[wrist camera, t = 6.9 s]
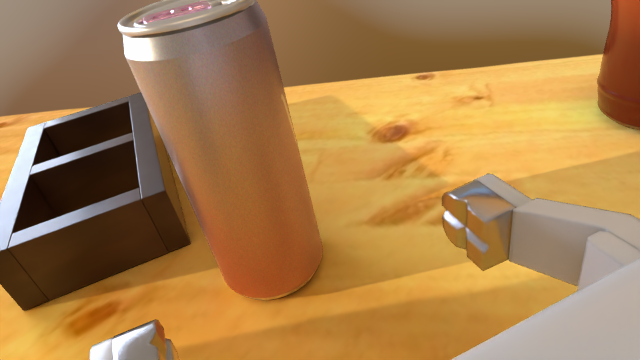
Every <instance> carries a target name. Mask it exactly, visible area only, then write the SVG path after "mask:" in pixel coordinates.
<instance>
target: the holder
mask: <svg viewBox="0 0 640 360" xmlns="http://www.w3.org/2000/svg"><path fill="white" fill-rule="evenodd" d="M190 243H191V242H190V238H189V235H188V231H187V227H186V223H185V219H184V216H183V212H182V208H181V204H180V200H179V197H178V193H177V189H176V185H175V181H174V178H173V174H172V170H171V166H170V163H169V159H168V155H167V151H166V147H165V145H164V142H163V140H162V138H161V136H160V133H159V131H158V129H157V127H156V124H155V122H154V120H153V118H152V115H151V113H150V111H149V109H148V106H147V104H146V102H145V100H144V97H143V95H142V93H137V94H134V95H131V96H128V97H125V98H121V99H118V100H115V101H112V102H109V103H105V104H102V105H99V106H96V107H93V108H90V109H86V110H83V111H80V112H77V113H74V114H70V115H67V116H64V117H61V118H58V119H55V120H51V121H48V122H46V123H42V124H38V125H35V126H32V127H29V128H28V130H27V132H26V135H25V138H24V140H23V143H22V146H21V148H20V151H19V154H18V156H17V159H16V162H15V164H14V167H13V169H12V172H11V175H10V177H9V180H8V183H7V185H6V188H5V191H4V193H3V196H2V199H1V201H0V284H1V285H2V286H3V288H4V289H5V290H6V291H7V292H8V293H9V295H10V296H11V297H12V298H13V299H14V300H15V301H16V303H17V304H18V305H19V306H20V307H21V308H22V310H23V311H25V310H28V309H30V308H33V307H35V306H38V305H40V304H43V303H45V302H47V301H49V300H52V299H55V298H57V297H60V296H62V295H65V294H67V293H70V292H72V291H75V290H77V289H79V288H82V287H84V286H87V285H89V284H92V283H94V282H97V281H99V280H102V279H104V278H107V277H109V276H112V275H114V274H117V273H119V272H122V271H124V270H127V269H129V268H131V267H134V266H136V265H139V264H141V263H144V262H146V261H149V260H151V259H154V258H156V257H159V256H161V255H164V254H166V253H168V252H171V251H173V250H176V249H178V248H181V247H183V246H186V245H188V244H190Z"/></svg>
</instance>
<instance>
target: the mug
mask: <svg viewBox="0 0 640 360" xmlns="http://www.w3.org/2000/svg"><path fill="white" fill-rule="evenodd" d="M611 5H612V6H611V7H612V10H611V21H610V28H609V32H608V36H607V40H606V44H605V48H604V52H603V57H602V62H601V68H600V73H599V76H598V79H597V84H598V106H599V108H600V110H601V111H602V112H603V113H604V114H605V115H606V116H607V117H609V118H610V119H611V120H613V121H615V122H617V123H619V124H621V125H623V126H626V127H629V128H633V129H637V130H640V0H611Z"/></svg>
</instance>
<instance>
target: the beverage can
mask: <svg viewBox="0 0 640 360" xmlns="http://www.w3.org/2000/svg"><path fill="white" fill-rule="evenodd" d="M118 28H119V31H120V32H121V33H123V41H124V53H125V56H126V59H127V61H128V63H129V66H130V68H131V70H132V72H133V74H134V77H135V79H136V81H137V84H138V86H139V88H140V90H141V93H142V95H143V97H144V100H145V102H146V104H147V106H148V109H149V111H150V113H151V115H152V118H153V120H154V122H155V124H156V127H157V129H158V131H159V133H160V136H161V138H162V140H163V142H164V145H165V147H166V149H167V151H168V154H169V156H170V158H171V160H172V163H173V165H174V167H175V169H176V172H177V174H178V176H179V178H180V181H181V183H182V185H183V187H184V190H185V192H186V194H187V196H188V199H189V201H190V203H191V205H192V208H193V210H194V212H195V214H196V217H197V219H198V221H199V223H200V226H201V228H202V230H203V232H204V235H205V237H206V239H207V241H208V244H209V246H210V248H211V250H212V253H213V255H214V257H215V259H216V262H217V264H218V266H219V268H220V271H221V273H222V275H223V277H224V280H225V282H226V283H227V285H228V286H229V287H230V288H231V289H232V290H234V291H235V292H237V293H239V294H241V295H243V296H246V297H248V298H252V299H257V300H271V299H277V298H281V297H284V296H287V295H289V294H291V293H293V292H295V291H297V290H298V289H300V288H301V287H302V286H304V285H305V284H306V283H307V282H308V281H309V280H310V279H311V277H312V276H313V275H314V273H315V272H316V270H317V268H318V266H319V263H320V261H321V258H322V253H323V248H322V242H321V238H320V234H319V230H318V226H317V222H316V218H315V214H314V210H313V206H312V202H311V197H310V193H309V189H308V185H307V181H306V177H305V173H304V169H303V165H302V161H301V157H300V153H299V149H298V145H297V140H296V136H295V132H294V128H293V124H292V120H291V116H290V112H289V108H288V104H287V100H286V96H285V92H284V88H283V83H282V79H281V76H280V71H279V67H278V63H277V59H276V55H275V51H274V47H273V43H272V39H271V35H270V31H269V26H268V22H267V18H266V16H265V14H264V12H263V11H262V9H261V8H260V6H259V4H258V3H257V1H256V0H162V1H159V2H157V3H154V4H151V5H148V6H146V7H143V8H141V9H139V10H136V11H134V12H132V13H130V14H128V15H127V16H125V17H124V18H122V19H121V20H120V21H119V23H118Z"/></svg>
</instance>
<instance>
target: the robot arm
mask: <svg viewBox="0 0 640 360" xmlns="http://www.w3.org/2000/svg"><path fill="white" fill-rule="evenodd" d="M442 206H443V207H444V208H446V209H447V210H446V211H445V213H444V215H443V217H442V220H443V228H444V230H445V233H446V235H447V237H448V238H449V239H450V241H451V242H452V243H453V244H454V245H455V246H456V247H459V248H463V249H466V251H467V257H468V258H469V259H470V260H471V261H472V262H473V263H475V264H476V265H477V266H478V267H479V268H480V269H481V270H482V271H485V270H487V269H489V268H491V267H493V266H495V265H498V264H500V263H502V262H504V261H506V260H508V259H509V261H510V262H513V263H516V264H518V265H521V266H524V267H527V268H529V269H532V270H535V271H537V272H540V273H543V274H545V275H548V276H551V277H554V278H556V279H559V280H562V281H564V282H567V283H570V284H573V285H575V286H577V291H576V292H575V293H573V294H571V295H570V296H568V297H566V298H564V299H562V300H560V301H558V302H557V303H555V304H553V305H551V306H549V307H547V308H546V309H544V310H542V311H540V312H538V313H536V314H534V315H533V316H531V317H529V318H527V319H525V320H523V321H521V322H520V323H518V324H516V325H514V326H512V327H510V328H508V329H507V330H505V331H503V332H501V333H499V334H497V335H496V336H494V337H492V338H490V339H488V340H486V341H484V342H483V343H481V344H479V345H477V346H475V347H473V348H472V349H470V350H468V351H466V352H464V353H462V354H460V355H459V356H457V357H455V358H453V359H451V360H640V219H638V218H636V217H634V216H632V215H631V214H625V213H619V212H614V211H608V210H602V209H596V208H591V207H585V206H579V205H574V204H568V203H562V202H557V201H551V200H545V199H539V198H536V199H534V200H532V199H530V198H529V197H527V196H526V195H524V194H523V193H521V192H520V191H518V190H516V189H515V188H513V187H512V186H510V185H509V184H507V183H506V182H504V181H502V180H501V179H499V178H498V177H496V176H495V175H493V174H486V175H484V176H481V177H479V178H477V179H475V180H473V181H471V182H468V183H466V184H464V185H462V186H459V187H457V188H455V189H453V190H451V191H448V192H446V193H444V194H443V196H442ZM89 360H180V359H179V356H178V353H177V351H176V349H175V346H174V345H173V343H172V341H171V340H170V339H166V338H165V334H164V328H163V327H162V325H161V324H160V322H159V321H158V320H156V319H155V320H153V321H150V322H148V323H145V324H143V325H140V326H138V327H136V328H133V329H131V330H128V331H126V332H123V333H121V334H119V335H116V336H114V337H113V338H110V339H108V340H105V341H103V342H100V343H98V344H95V345H93V346H92V348H91V350H90V354H89Z"/></svg>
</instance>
